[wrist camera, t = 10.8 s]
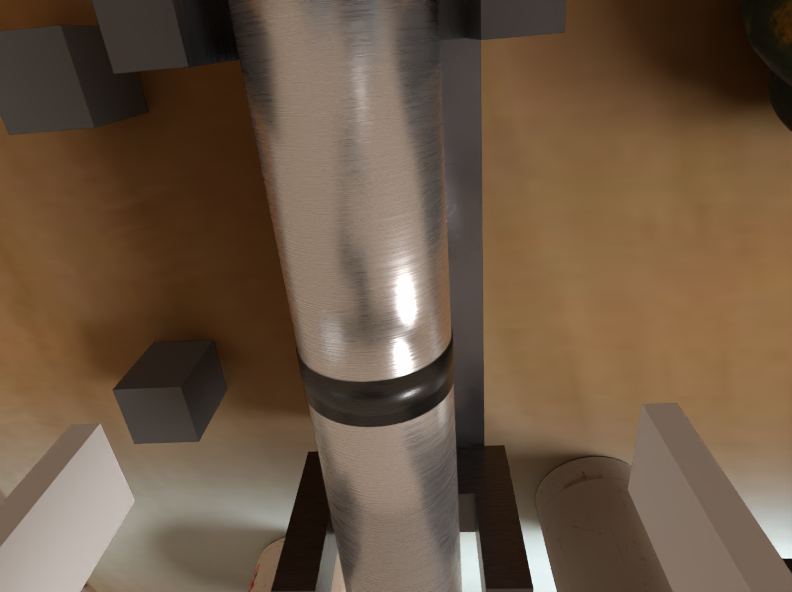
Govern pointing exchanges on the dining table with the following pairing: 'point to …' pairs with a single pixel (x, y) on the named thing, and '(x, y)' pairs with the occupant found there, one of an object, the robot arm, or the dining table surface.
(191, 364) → the posts
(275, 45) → the tube
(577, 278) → the dining table surface
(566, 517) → the thermos bottle
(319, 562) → the grey cradle stand
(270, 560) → the teacup with lid
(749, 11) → the squash
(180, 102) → the dining table surface
